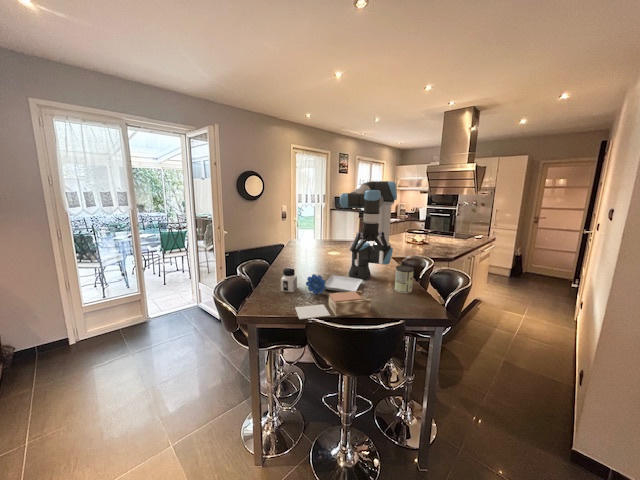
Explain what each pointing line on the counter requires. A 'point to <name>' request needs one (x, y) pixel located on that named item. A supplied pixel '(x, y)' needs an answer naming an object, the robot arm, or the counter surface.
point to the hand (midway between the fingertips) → (368, 264)
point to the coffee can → (404, 279)
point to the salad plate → (342, 283)
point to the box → (350, 305)
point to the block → (344, 297)
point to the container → (288, 280)
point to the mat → (312, 311)
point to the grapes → (316, 284)
